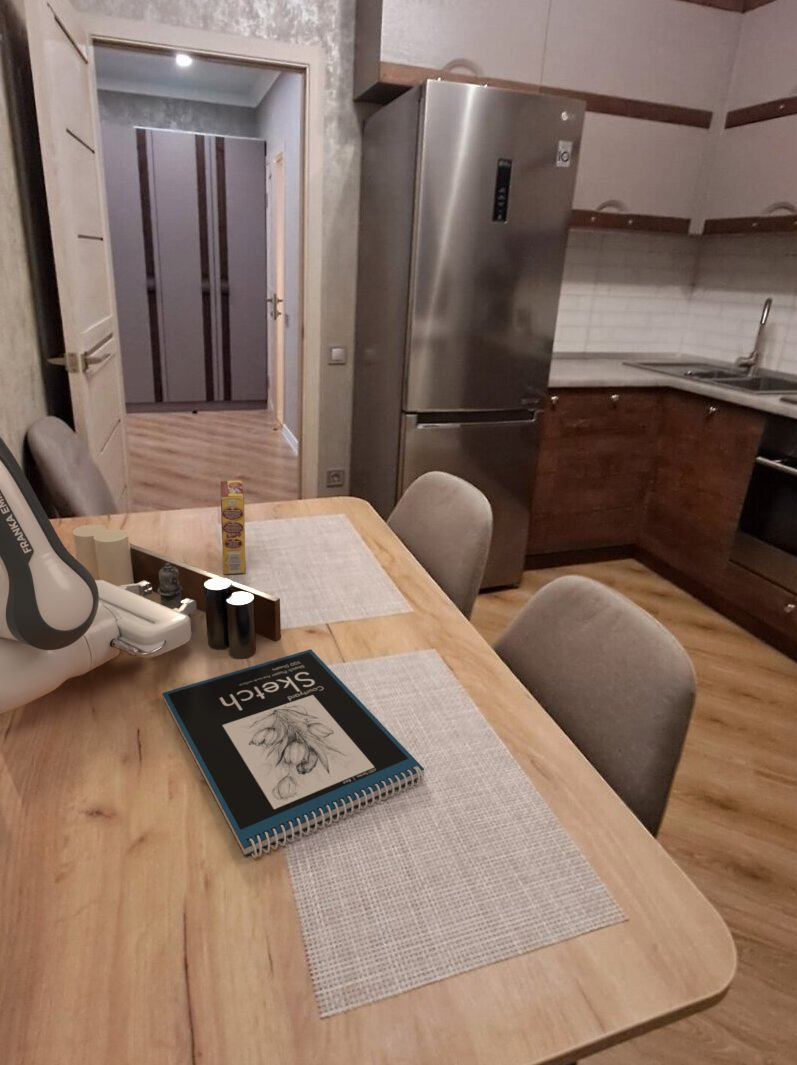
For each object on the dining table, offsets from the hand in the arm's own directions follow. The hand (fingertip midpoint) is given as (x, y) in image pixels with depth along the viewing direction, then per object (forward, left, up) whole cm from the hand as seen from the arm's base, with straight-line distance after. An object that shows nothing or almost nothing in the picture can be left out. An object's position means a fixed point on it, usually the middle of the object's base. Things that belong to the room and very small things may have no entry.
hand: (170, 594), depth 100 cm
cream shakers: (-18, +2, -7) cm, 19 cm away
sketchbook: (+30, -9, -7) cm, 32 cm away
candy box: (-10, +23, -7) cm, 26 cm away
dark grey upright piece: (0, 0, -7) cm, 7 cm away
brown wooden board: (-5, +8, -7) cm, 11 cm away
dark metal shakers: (+10, +2, -7) cm, 12 cm away
